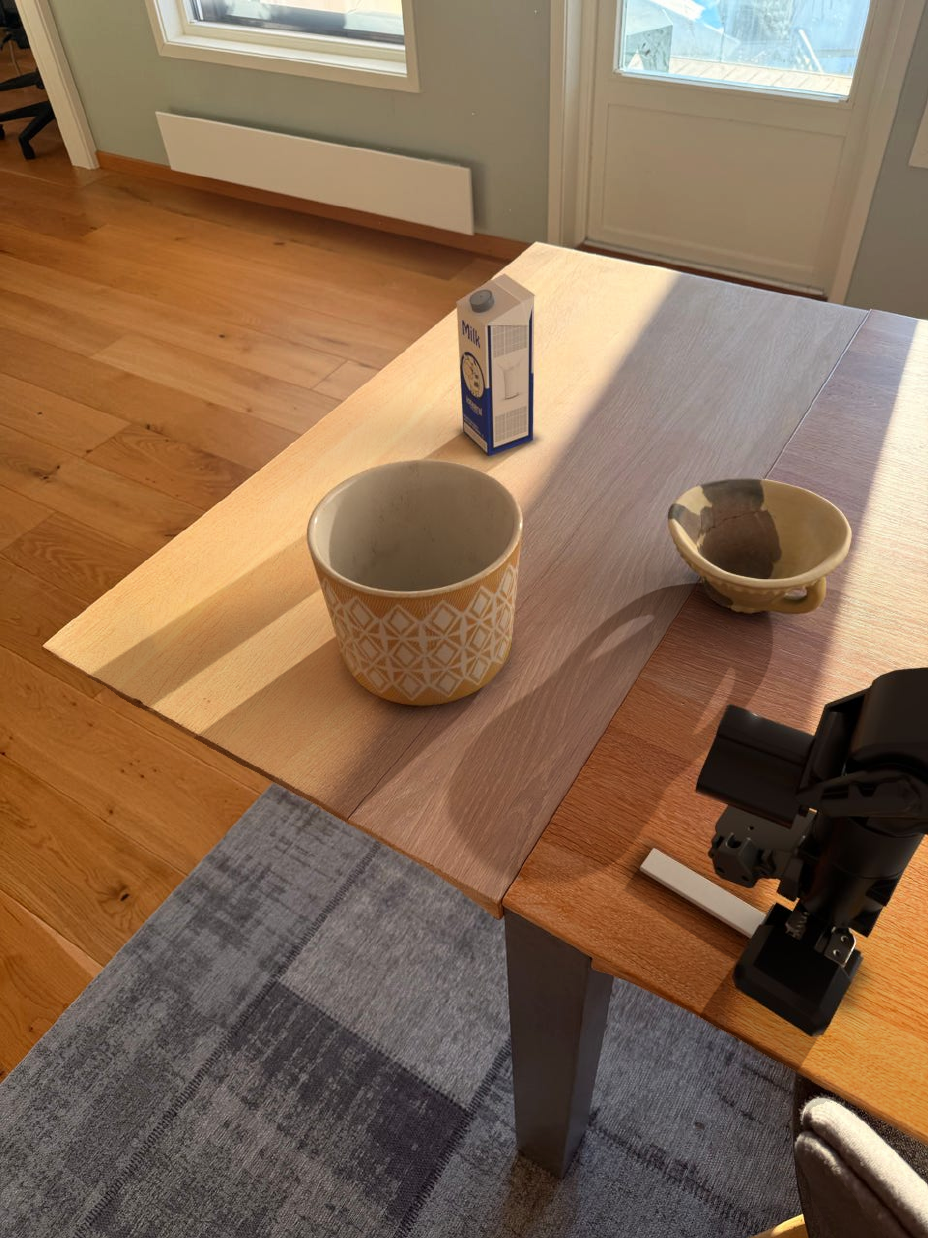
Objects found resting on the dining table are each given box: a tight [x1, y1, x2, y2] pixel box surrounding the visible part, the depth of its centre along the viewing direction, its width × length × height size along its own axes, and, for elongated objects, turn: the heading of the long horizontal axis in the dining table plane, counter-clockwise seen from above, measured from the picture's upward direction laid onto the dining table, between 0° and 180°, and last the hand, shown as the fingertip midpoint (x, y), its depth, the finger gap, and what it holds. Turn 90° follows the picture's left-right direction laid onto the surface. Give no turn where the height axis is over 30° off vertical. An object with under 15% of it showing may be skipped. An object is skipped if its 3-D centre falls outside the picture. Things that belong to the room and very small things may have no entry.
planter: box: [306, 459, 524, 707], centre depth 87 cm, size 19×19×16 cm
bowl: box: [667, 477, 853, 615], centre depth 93 cm, size 18×18×10 cm
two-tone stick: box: [639, 847, 865, 996], centre depth 70 cm, size 17×2×2 cm, turn 52°
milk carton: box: [455, 273, 536, 457], centre depth 112 cm, size 7×7×20 cm
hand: (807, 950), depth 67 cm, fingers closed on two-tone stick, 2 cm apart
